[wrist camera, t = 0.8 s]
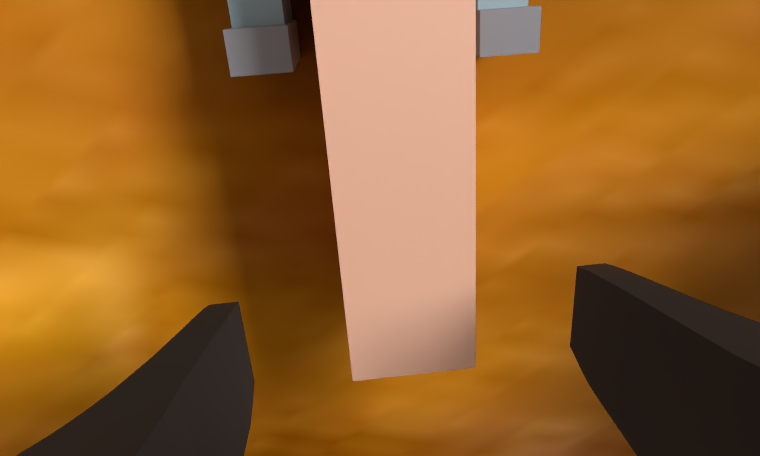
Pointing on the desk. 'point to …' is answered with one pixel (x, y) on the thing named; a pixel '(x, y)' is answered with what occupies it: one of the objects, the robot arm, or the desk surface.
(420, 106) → the salmon pink block
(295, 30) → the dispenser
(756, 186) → the desk surface
